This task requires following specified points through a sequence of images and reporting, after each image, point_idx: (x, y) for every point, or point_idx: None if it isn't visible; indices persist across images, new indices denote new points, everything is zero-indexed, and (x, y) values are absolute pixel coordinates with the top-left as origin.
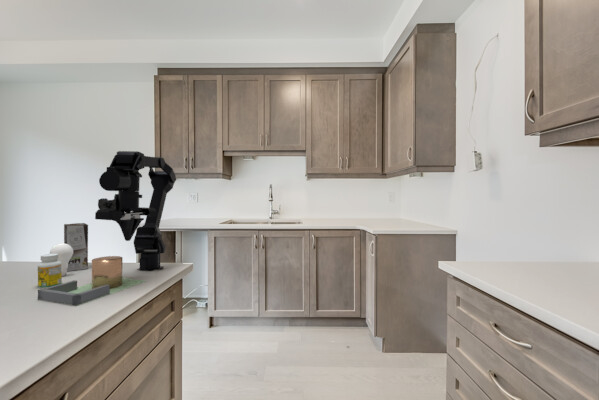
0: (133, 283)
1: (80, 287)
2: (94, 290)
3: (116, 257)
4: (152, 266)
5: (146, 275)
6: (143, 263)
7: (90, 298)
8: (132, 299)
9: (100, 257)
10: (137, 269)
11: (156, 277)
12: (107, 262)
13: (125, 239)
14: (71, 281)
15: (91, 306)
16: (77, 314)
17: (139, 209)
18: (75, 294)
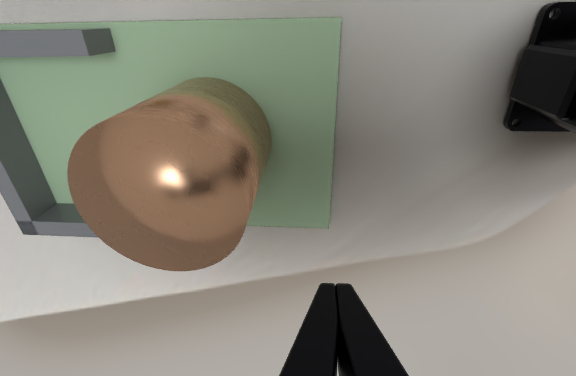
0: (281, 208)
1: (136, 41)
2: (87, 235)
3: (213, 223)
4: (552, 122)
5: (440, 143)
6: (541, 91)
7: None
8: (182, 286)
9: (154, 125)
10: (545, 14)
11: (413, 207)
12: (124, 249)
13: (317, 293)
14: (64, 40)
15: None
16: (44, 247)
17: None
18: (25, 223)
